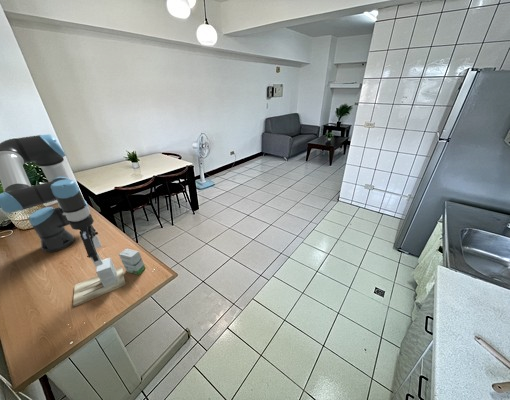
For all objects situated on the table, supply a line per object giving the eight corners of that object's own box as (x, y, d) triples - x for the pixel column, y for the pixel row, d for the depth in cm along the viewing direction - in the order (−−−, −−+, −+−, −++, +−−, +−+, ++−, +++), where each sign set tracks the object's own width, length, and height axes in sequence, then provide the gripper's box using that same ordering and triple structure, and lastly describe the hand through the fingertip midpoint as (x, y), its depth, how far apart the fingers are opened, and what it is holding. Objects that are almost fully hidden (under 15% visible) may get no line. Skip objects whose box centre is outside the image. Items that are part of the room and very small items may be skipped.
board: (75, 286, 102) (74, 284, 101) (122, 267, 112) (122, 266, 111) (74, 306, 92) (72, 304, 92) (125, 284, 102) (124, 282, 101)
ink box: (146, 268, 111) (139, 250, 105) (138, 275, 107) (131, 257, 101) (133, 264, 114) (126, 247, 108) (125, 271, 110) (117, 254, 104)
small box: (104, 277, 105) (96, 261, 100) (117, 272, 108) (110, 256, 102) (104, 288, 99) (95, 272, 94) (118, 283, 101) (110, 267, 96)
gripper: (70, 206, 94) (89, 243, 104) (65, 236, 75) (88, 277, 86) (90, 201, 97) (106, 238, 108) (90, 229, 79) (110, 269, 90)
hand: (98, 255), depth 97 cm, fingers open, 13 cm apart
